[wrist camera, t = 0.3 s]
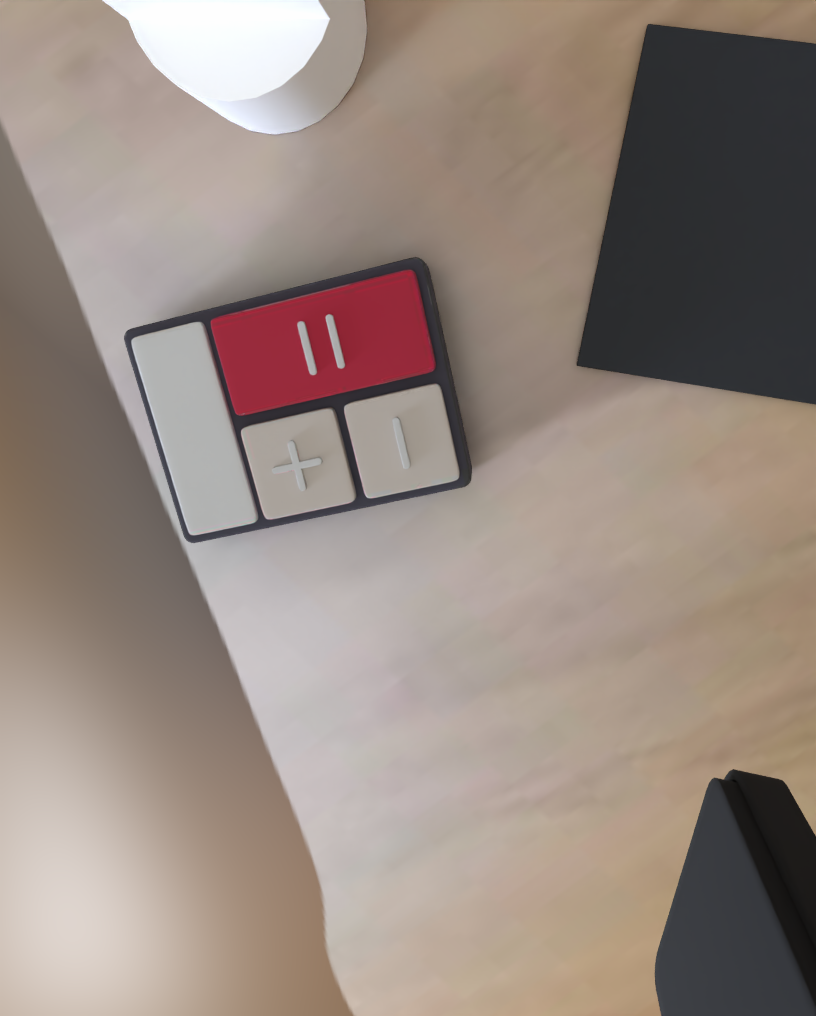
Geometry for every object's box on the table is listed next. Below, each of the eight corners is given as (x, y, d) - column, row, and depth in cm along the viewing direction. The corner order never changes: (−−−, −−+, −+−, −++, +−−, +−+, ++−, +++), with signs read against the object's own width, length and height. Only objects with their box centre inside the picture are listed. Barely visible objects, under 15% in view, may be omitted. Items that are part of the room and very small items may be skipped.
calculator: (473, 489, 36) (179, 549, 38) (473, 472, 40) (209, 527, 42) (422, 252, 34) (112, 330, 36) (428, 260, 38) (150, 330, 40)
